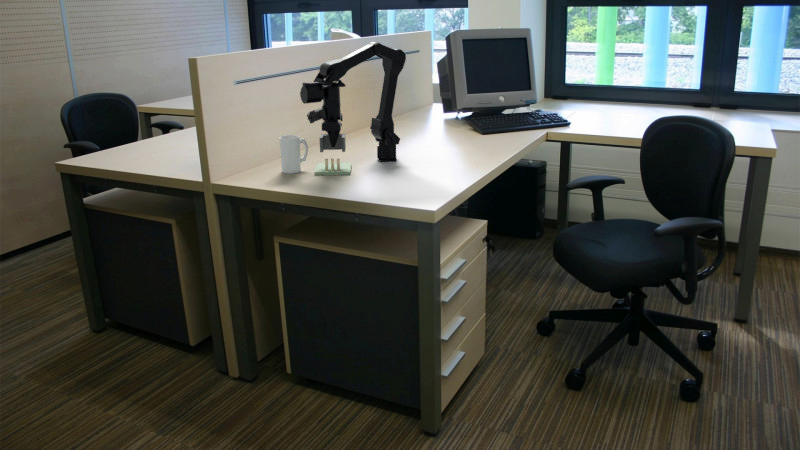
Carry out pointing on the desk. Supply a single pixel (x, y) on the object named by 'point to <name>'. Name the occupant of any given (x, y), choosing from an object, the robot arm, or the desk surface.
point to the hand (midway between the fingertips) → (333, 145)
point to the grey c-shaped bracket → (326, 143)
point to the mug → (292, 153)
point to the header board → (333, 168)
